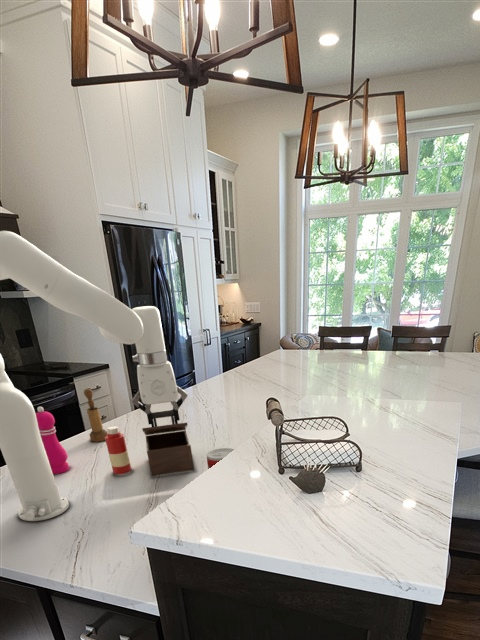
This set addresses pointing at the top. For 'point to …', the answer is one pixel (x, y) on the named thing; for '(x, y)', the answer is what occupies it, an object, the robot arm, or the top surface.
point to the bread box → (169, 453)
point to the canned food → (217, 455)
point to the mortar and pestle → (94, 419)
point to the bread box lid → (165, 428)
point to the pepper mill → (51, 442)
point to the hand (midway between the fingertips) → (164, 424)
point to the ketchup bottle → (117, 451)
